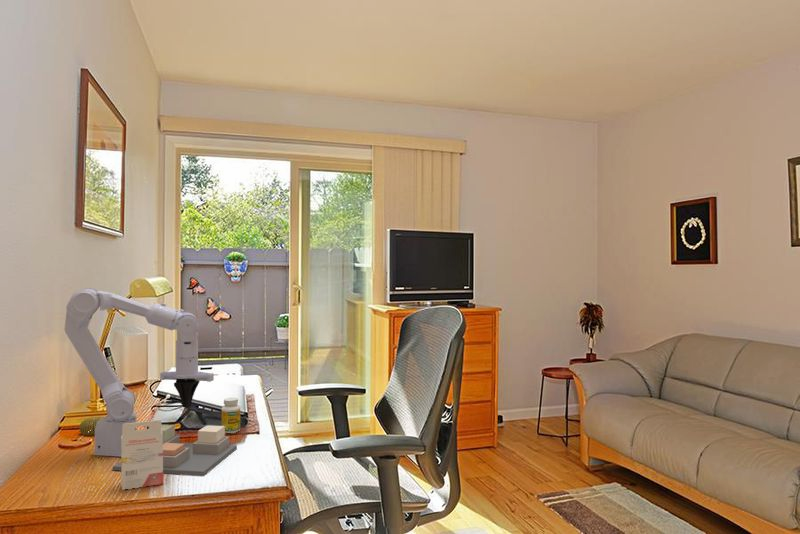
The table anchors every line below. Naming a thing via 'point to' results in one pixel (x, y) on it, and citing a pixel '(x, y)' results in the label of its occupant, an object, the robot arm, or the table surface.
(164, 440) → the sage button
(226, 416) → the supplement bottle
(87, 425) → the sculpture
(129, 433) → the ink cartridge box
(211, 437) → the cream button
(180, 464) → the board
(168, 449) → the terracotta button
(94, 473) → the table surface
